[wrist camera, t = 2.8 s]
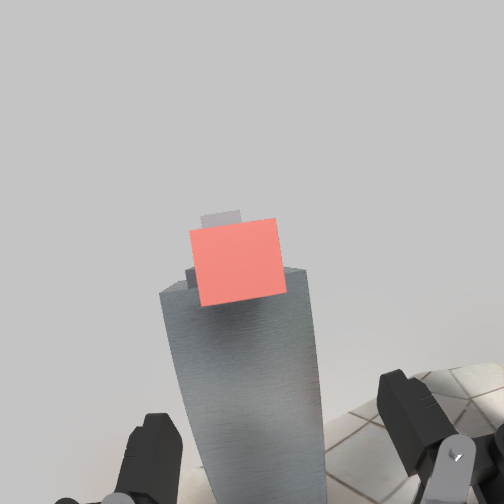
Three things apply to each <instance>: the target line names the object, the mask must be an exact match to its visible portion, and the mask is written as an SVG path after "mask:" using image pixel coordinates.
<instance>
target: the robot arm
mask: <svg viewBox="0 0 504 504" xmlns="http://www.w3.org/2000/svg"><path fill="white" fill-rule="evenodd" d="M377 408H378V411H379V414H380V416H381V418H382V420H383V423H384V425H385V427H386V429H387V431H388V433H389V435H390V437H391V439H392V442H393V444H394V446H395V448H396V450H397V452H398V454H399V457H400V459H401V461H402V463H403V465H404V468H405V470H406V472H407V474H408V477H411V476H413V475H415V474H417V473H418V475H419V478H420V481H419V484H418V487H417V490H416V493H415V495H414V498H413V501H412V503H411V504H467V503H466V498H467V494H468V490H469V486H472V488H473V490H474V493H475V495H476V497H477V500H478V502H479V504H504V421H503V424H502V425H501V426H500V427H499V428H498V430H497V431H496V433H494V434H490V435H486V436H482V437H478V438H470V437H468V436H466V435H462V434H459V433H458V432H457V431H456V430H455V428H454V427H453V425H452V424H451V422H450V421H449V419H448V418H447V416H446V415H445V413H444V412H443V410H442V409H441V407H440V406H439V404H438V403H437V401H436V400H435V398H434V397H433V396H432V395H431V392H430V391H429V389H428V388H427V386H426V385H425V384H424V383H422V382H421V381H419V380H418V379H416V378H415V377H414V378H411V379H409V380H408V379H407V378H406V376H405V374H404V373H403V372H402V371H401V370H400V369H398V370H395V371H392V372H389V373H386V374H383V375H381V376H380V381H379V389H378V395H377ZM182 450H183V444H182V438H181V436H180V434H179V432H178V431H177V429H176V427H175V426H174V424H173V422H172V420H171V419H170V417H169V415H168V414H167V413H149V414H147V415H146V416H145V420H144V424H143V427H138V426H137V427H136V428H135V430H134V431H133V432H132V434H131V435H130V436H129V439H128V443H127V449H126V450H125V454H124V458H123V462H122V465H121V469H120V473H119V477H118V481H117V485H116V489H115V491H114V493H112V494H109V495H108V496H106V497H105V498H104V499H103V500H102V502H97V503H89V504H177V495H178V485H179V476H180V466H181V458H182ZM55 504H79V503H78V502H76V501H75V500H73V499H71V498H62V499H60V500H58V501H57V502H56V503H55Z"/></svg>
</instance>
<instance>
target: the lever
mask: <svg viewBox="0 0 504 504" xmlns="http://www.w3.org/2000/svg"><path fill="white" fill-rule="evenodd" d="M201 223H202V229H197V230H191V231H190V239H191V245H192V252H193V259H194V265H195V271H196V278H197V284H198V290H199V295H200V301H201V307H203V306H210V305H216V304H222V303H229V302H235V301H241V300H247V299H253V298H259V297H264V296H270V295H276V294H281V293H286V292H287V290H286V283H285V277H284V270H283V263H282V257H281V250H280V244H279V238H278V231H277V225H276V219H275V218H273V219H265V220H258V221H251V222H245V223H241V217H240V211H239V210H237V211H230V212H223V213H216V214H210V215H204V216H201Z"/></svg>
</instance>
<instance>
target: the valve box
mask: <svg viewBox="0 0 504 504" xmlns="http://www.w3.org/2000/svg"><path fill="white" fill-rule="evenodd" d="M283 270H284V277H285V283H286V290H287V292H286V293H281V294H276V295H270V296H264V297H259V298H253V299H247V300H241V301H235V302H229V303H222V304H216V305H210V306H203V307H201V301H200V295H199V290H198V284H197V278H196V271H195V267H192V268H190V269H187V270H185V272H186V279H187V280H185V281H178V282H177V283H175V284H173V285H172V286H170V287H169V288H167V289H165V290H164V291H162V292H161V293H159V295H160V301H161V306H162V311H163V317H164V322H165V326H166V331H167V336H168V341H169V345H170V350H171V354H172V358H173V362H174V367H175V370H176V375H177V379H178V383H179V386H180V390H181V394H182V398H183V402H184V405H185V409H186V412H187V416H188V419H189V422H190V426H191V429H192V433H193V436H194V439H195V442H196V445H197V448H198V451H199V454H200V457H201V460H202V463H203V466H204V469H205V472H206V475H207V478H208V480H209V483H210V486H211V488H212V491H213V494H214V496H215V499H216V501H217V504H327V494H326V469H325V450H324V434H323V421H322V407H321V396H320V384H319V374H318V364H317V354H316V345H315V336H314V328H313V319H312V312H311V304H310V296H309V288H308V282H307V274H306V270H304V269H296V268H289V267H283Z"/></svg>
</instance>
